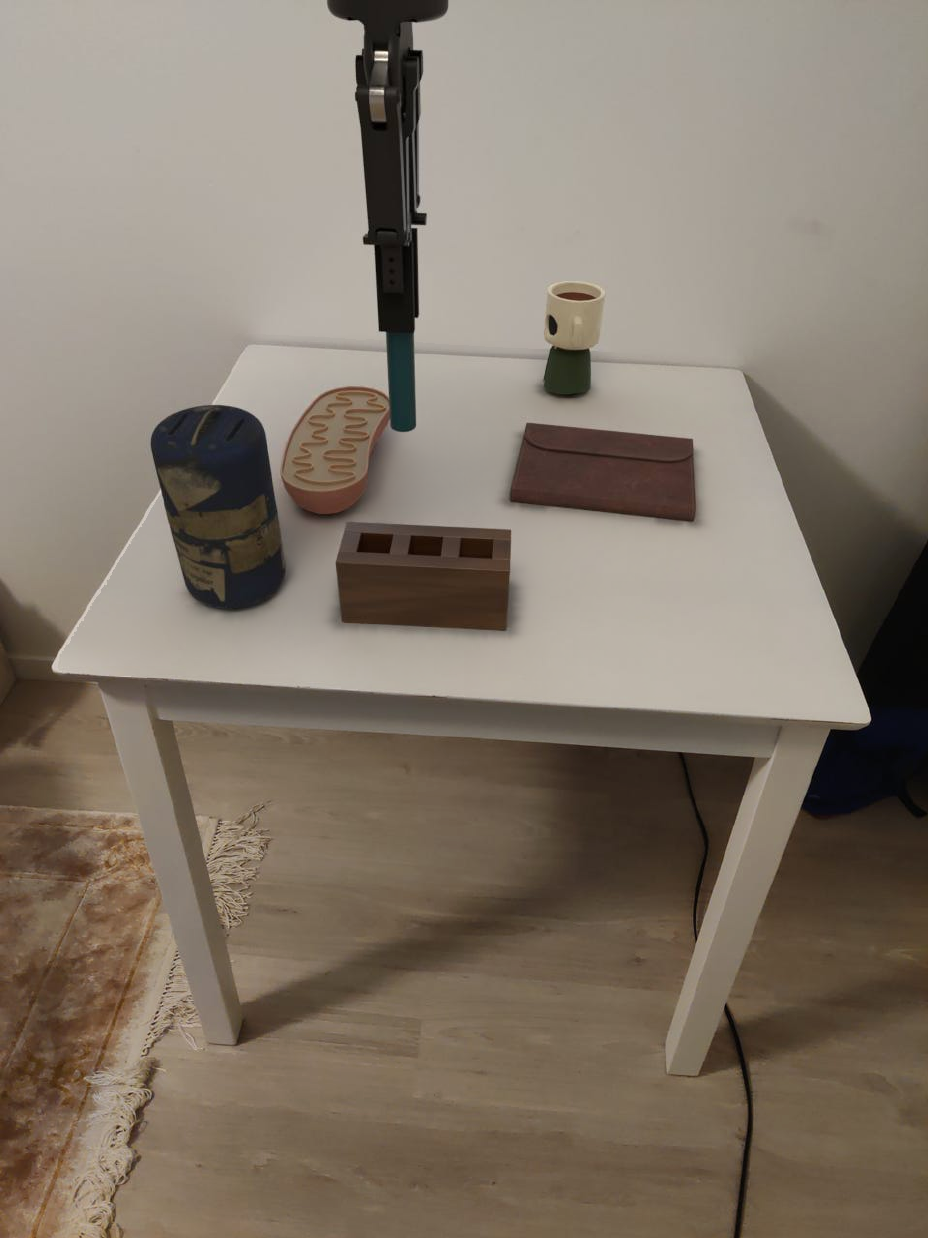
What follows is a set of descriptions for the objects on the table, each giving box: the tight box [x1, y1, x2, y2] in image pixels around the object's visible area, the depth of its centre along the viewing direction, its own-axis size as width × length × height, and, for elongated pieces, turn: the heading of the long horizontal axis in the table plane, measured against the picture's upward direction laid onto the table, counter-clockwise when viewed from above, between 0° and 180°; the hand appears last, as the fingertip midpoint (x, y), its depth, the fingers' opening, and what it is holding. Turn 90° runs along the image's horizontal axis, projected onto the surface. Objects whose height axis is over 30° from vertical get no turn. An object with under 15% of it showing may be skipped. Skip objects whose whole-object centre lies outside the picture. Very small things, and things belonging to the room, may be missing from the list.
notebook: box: [509, 422, 697, 522], centre depth 97 cm, size 15×20×2 cm
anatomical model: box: [279, 385, 390, 515], centre depth 96 cm, size 23×10×5 cm, turn 174°
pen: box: [385, 212, 417, 433], centre depth 67 cm, size 2×2×17 cm
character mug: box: [542, 280, 606, 395], centre depth 109 cm, size 11×7×13 cm, turn 0°
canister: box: [150, 404, 286, 610], centre depth 76 cm, size 10×10×18 cm
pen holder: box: [335, 521, 512, 632], centre depth 78 cm, size 6×15×7 cm, turn 87°
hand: (399, 322), depth 66 cm, fingers closed on pen, 2 cm apart
